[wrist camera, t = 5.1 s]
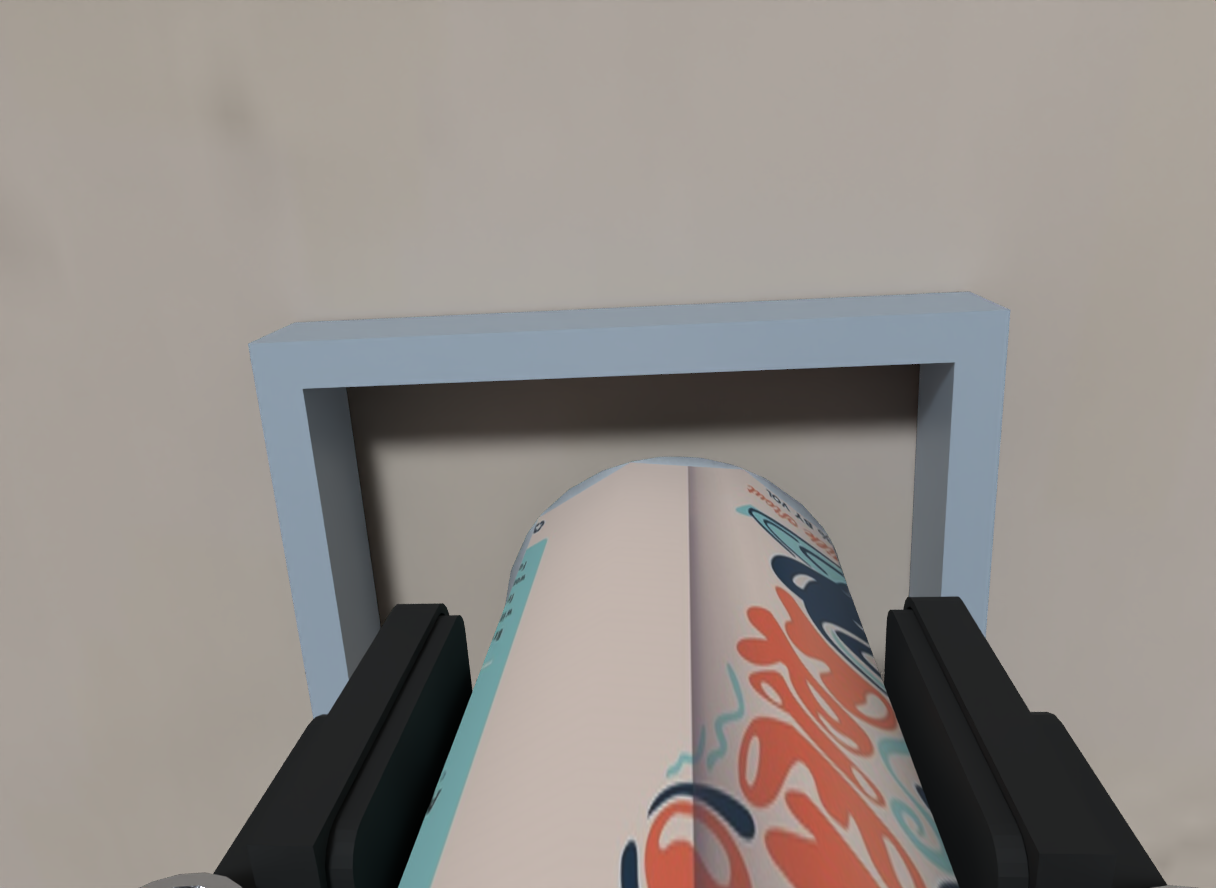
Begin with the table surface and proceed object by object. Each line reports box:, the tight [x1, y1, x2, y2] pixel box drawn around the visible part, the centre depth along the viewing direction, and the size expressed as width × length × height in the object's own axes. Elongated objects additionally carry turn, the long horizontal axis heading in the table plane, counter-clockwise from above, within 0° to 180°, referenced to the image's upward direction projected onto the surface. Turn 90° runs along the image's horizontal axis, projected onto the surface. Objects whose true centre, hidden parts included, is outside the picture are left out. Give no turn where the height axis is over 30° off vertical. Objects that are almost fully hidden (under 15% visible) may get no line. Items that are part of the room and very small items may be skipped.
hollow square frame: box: [248, 292, 1010, 718], centre depth 13 cm, size 9×9×2 cm
